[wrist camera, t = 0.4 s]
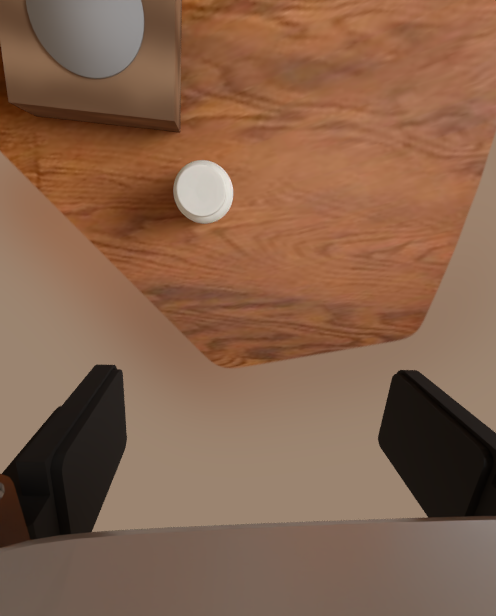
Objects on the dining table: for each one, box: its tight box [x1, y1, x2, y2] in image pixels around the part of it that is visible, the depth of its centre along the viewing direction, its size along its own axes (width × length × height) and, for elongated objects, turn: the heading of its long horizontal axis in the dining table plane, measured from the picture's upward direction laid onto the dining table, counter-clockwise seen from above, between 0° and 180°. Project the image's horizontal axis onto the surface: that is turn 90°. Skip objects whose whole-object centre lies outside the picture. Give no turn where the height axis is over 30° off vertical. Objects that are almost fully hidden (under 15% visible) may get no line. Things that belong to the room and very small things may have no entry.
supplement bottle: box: [173, 160, 233, 224], centre depth 29 cm, size 5×5×10 cm
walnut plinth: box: [0, 0, 182, 132], centre depth 26 cm, size 14×14×4 cm
